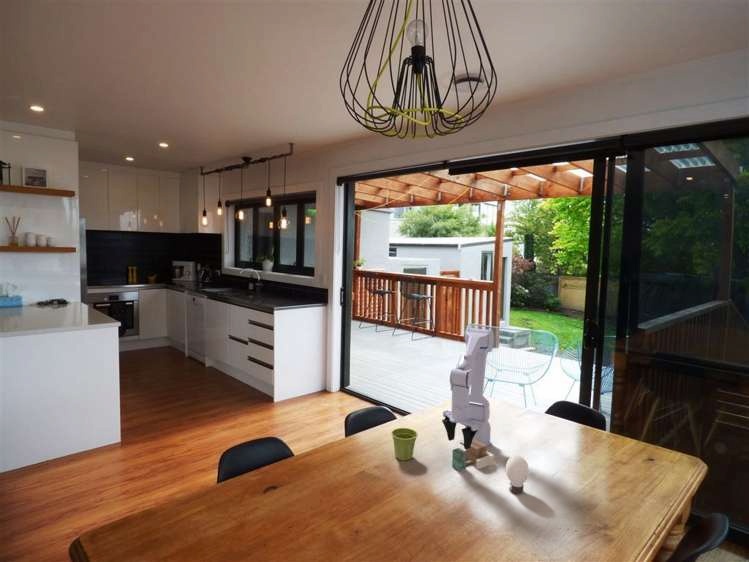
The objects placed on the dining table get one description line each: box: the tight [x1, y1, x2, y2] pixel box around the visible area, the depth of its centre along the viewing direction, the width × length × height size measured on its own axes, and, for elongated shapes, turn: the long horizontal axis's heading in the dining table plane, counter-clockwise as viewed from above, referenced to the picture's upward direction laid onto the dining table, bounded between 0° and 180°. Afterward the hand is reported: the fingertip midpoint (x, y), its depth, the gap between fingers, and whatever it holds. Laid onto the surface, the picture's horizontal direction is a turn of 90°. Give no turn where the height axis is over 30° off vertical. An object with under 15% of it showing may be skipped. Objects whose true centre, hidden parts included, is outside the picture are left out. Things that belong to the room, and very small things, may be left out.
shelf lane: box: [461, 448, 495, 470], centre depth 154 cm, size 8×9×3 cm
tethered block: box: [451, 440, 488, 471], centre depth 152 cm, size 12×5×6 cm, turn 124°
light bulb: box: [505, 454, 530, 495], centre depth 135 cm, size 7×7×11 cm
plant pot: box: [391, 427, 419, 462], centre depth 156 cm, size 9×9×9 cm
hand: (459, 443), depth 149 cm, fingers open, 7 cm apart
